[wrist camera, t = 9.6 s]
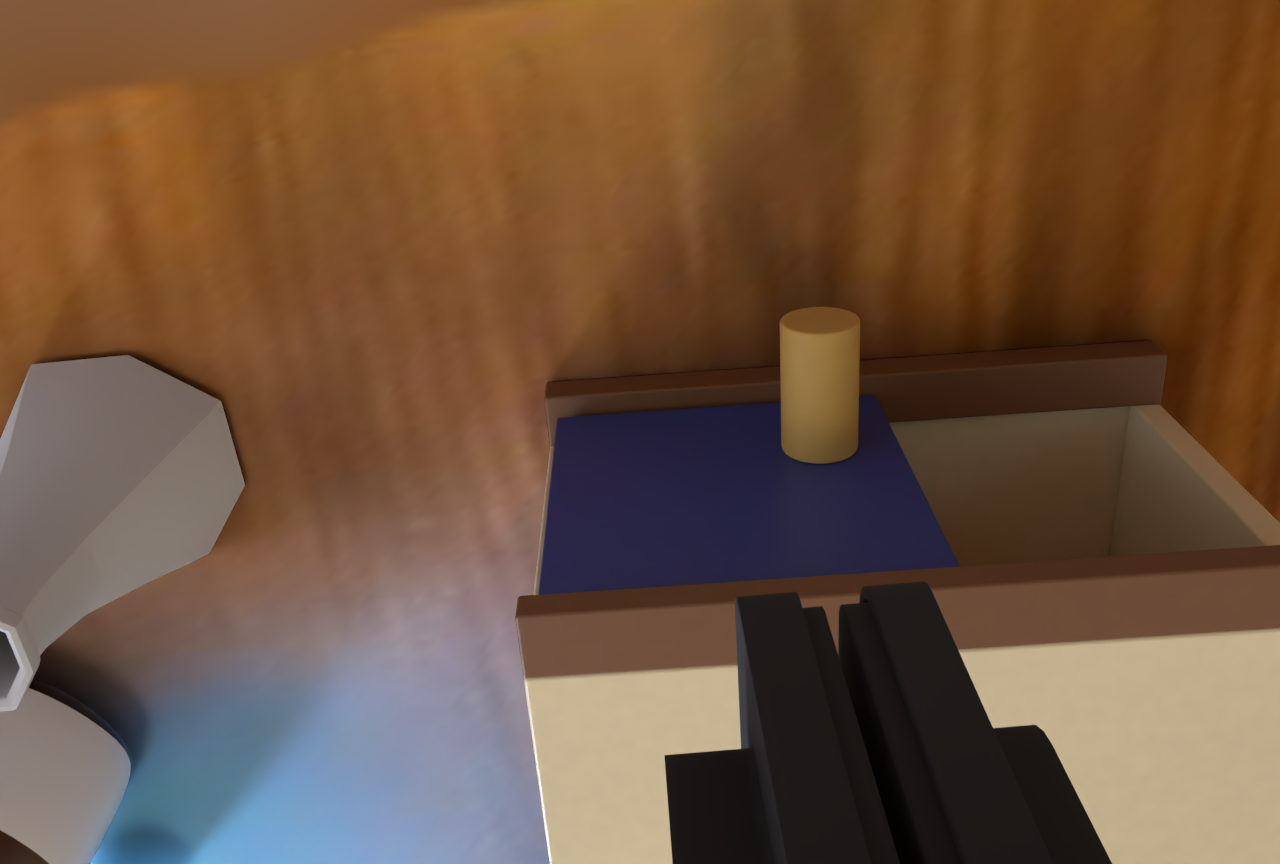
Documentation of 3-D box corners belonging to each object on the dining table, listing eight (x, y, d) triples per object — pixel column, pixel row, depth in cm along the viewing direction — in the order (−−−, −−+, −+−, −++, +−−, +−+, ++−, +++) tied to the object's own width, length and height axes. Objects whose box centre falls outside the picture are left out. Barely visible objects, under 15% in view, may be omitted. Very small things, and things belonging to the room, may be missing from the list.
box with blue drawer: (546, 380, 34) (514, 617, 23) (1152, 339, 34) (1400, 557, 23) (581, 690, 39) (568, 1000, 29) (1107, 655, 39) (1294, 955, 28)
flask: (257, 375, 34) (128, 558, 25) (238, 577, 37) (118, 804, 28) (2, 326, 33) (-225, 496, 24) (6, 535, 36) (-195, 756, 27)
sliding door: (543, 298, 32) (517, 456, 23) (878, 275, 31) (976, 424, 23) (558, 435, 33) (540, 628, 25) (875, 414, 33) (964, 599, 25)
